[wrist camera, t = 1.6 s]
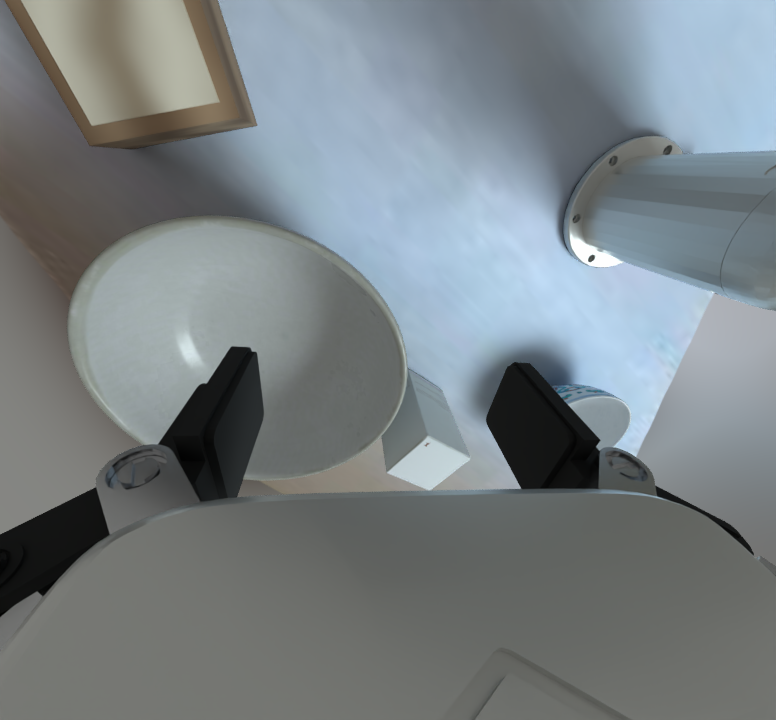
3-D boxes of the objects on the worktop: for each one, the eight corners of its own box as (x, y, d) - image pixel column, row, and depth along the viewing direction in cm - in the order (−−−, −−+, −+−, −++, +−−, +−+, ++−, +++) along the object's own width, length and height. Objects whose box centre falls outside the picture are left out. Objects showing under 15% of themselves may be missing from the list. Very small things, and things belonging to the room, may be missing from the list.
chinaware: (611, 367, 46) (654, 400, 39) (564, 435, 54) (593, 472, 47) (525, 358, 43) (556, 392, 37) (488, 432, 51) (508, 470, 44)
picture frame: (190, -84, 20) (146, -156, 15) (257, 125, 26) (239, 117, 21) (25, -54, 19) (-67, -117, 15) (131, 149, 26) (87, 145, 21)
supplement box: (374, 400, 44) (383, 473, 34) (408, 366, 41) (428, 434, 31) (411, 420, 47) (429, 493, 37) (444, 390, 45) (473, 459, 34)
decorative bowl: (397, 395, 44) (411, 462, 34) (212, 418, 43) (170, 496, 32) (383, 187, 29) (401, 198, 19) (99, 211, 28) (-43, 237, 18)
